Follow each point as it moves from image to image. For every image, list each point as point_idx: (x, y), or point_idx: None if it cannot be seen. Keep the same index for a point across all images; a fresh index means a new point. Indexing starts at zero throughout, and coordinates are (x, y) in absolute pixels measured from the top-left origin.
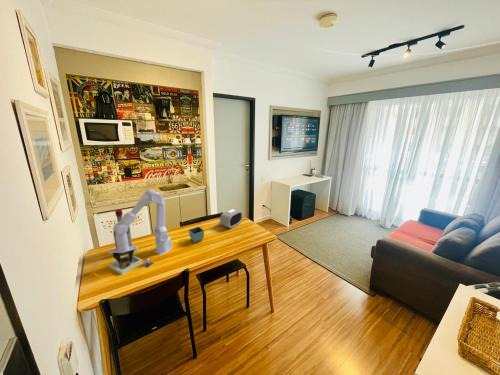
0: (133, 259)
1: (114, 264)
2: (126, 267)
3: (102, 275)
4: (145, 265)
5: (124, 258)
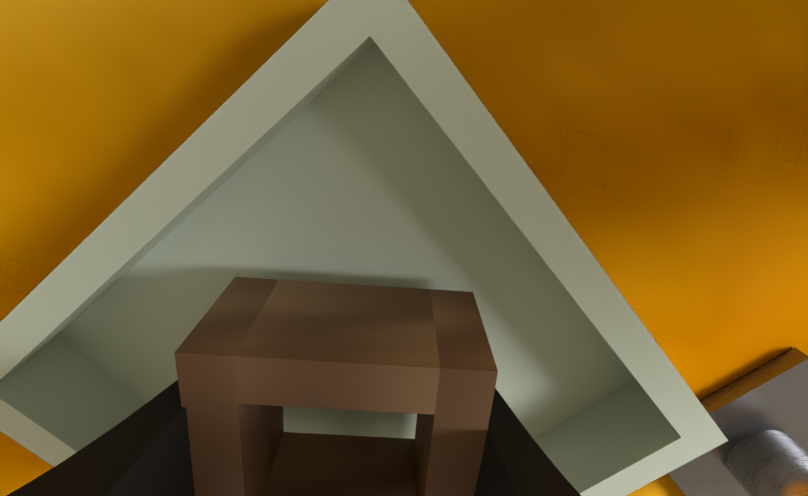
0: (491, 193)
1: (83, 310)
2: (375, 433)
3: (13, 480)
4: (712, 475)
5: (293, 399)
